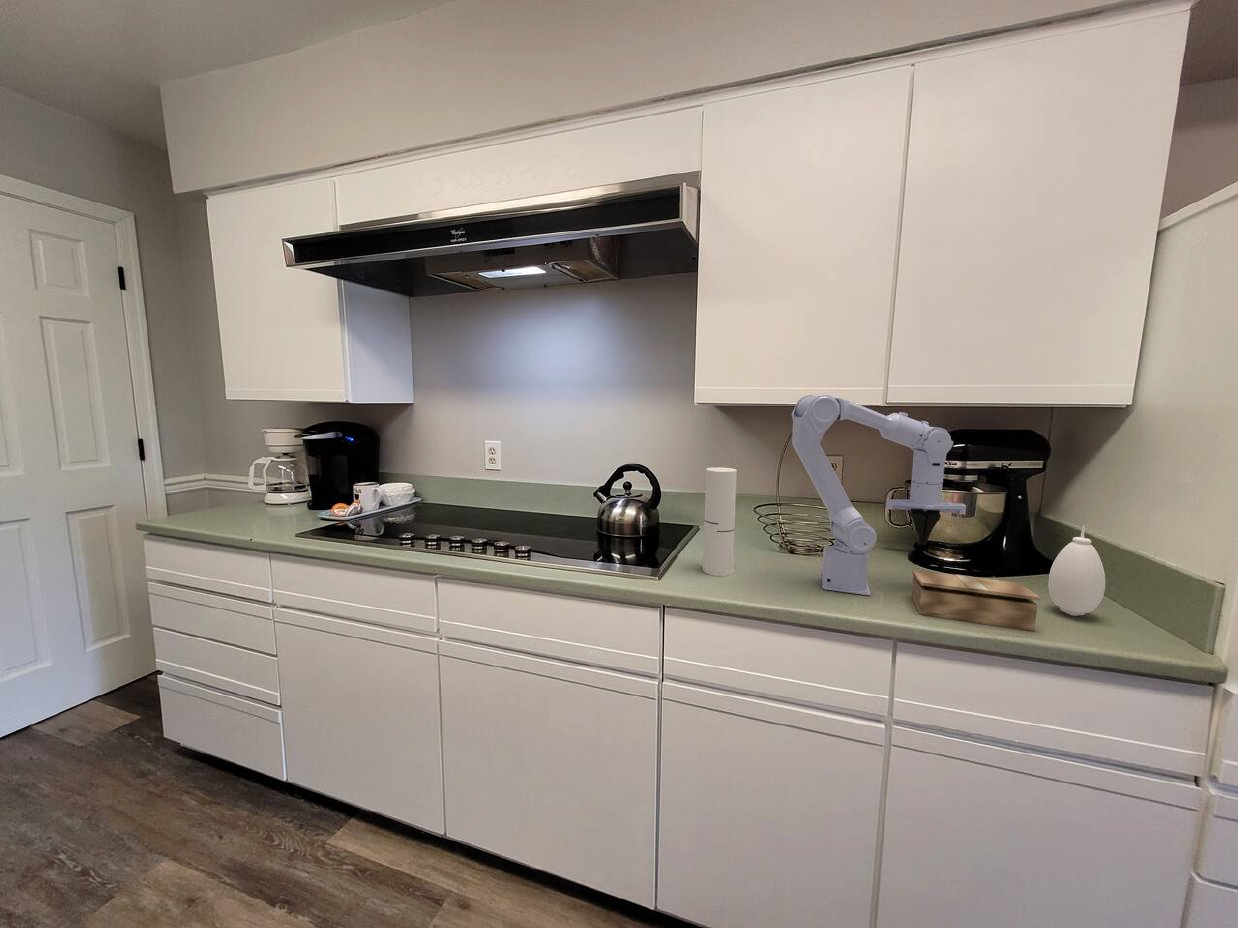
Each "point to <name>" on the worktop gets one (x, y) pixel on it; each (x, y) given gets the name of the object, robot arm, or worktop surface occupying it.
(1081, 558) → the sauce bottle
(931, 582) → the lid
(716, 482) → the cylindrical container
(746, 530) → the worktop surface
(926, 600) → the box
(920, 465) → the robot arm
